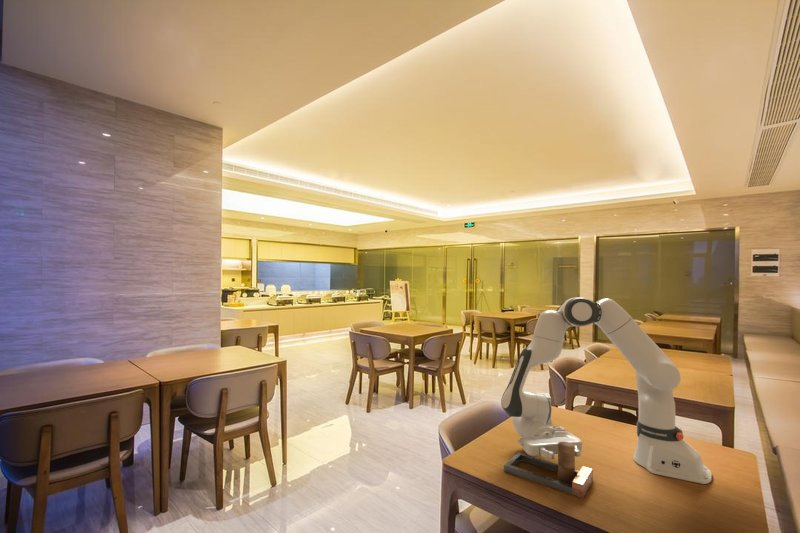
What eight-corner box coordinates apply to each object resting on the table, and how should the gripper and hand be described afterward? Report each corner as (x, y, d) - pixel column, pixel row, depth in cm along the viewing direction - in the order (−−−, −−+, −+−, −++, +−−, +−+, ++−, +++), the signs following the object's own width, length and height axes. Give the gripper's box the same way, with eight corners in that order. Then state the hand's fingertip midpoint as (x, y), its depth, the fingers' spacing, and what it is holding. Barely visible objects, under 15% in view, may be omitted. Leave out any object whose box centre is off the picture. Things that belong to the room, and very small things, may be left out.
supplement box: (551, 426, 172) (551, 397, 172) (533, 425, 173) (534, 396, 173) (548, 420, 179) (548, 392, 179) (531, 419, 180) (531, 391, 181)
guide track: (592, 481, 126) (592, 468, 126) (582, 498, 116) (582, 484, 116) (518, 457, 142) (518, 446, 142) (504, 471, 132) (504, 459, 132)
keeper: (576, 481, 126) (576, 444, 126) (572, 488, 122) (572, 449, 122) (560, 476, 129) (560, 440, 129) (555, 482, 125) (556, 445, 125)
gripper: (515, 430, 137) (536, 448, 124) (567, 426, 141) (593, 443, 128) (515, 448, 137) (536, 468, 124) (567, 444, 141) (592, 462, 128)
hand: (565, 455), depth 126 cm, fingers open, 8 cm apart
